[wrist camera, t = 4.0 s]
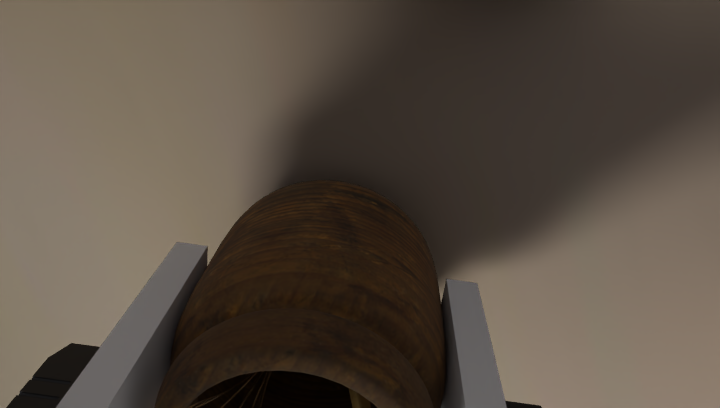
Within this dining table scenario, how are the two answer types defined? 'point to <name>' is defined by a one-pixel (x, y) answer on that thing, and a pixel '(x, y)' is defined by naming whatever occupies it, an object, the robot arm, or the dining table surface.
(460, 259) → the dining table surface
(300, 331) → the utensil holder
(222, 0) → the dining table surface
